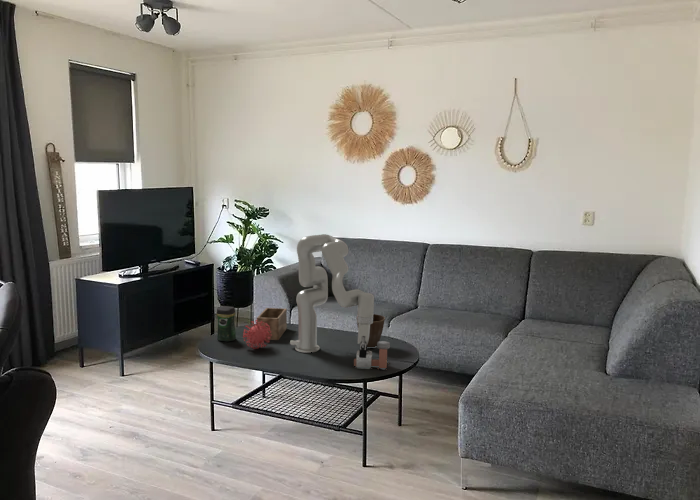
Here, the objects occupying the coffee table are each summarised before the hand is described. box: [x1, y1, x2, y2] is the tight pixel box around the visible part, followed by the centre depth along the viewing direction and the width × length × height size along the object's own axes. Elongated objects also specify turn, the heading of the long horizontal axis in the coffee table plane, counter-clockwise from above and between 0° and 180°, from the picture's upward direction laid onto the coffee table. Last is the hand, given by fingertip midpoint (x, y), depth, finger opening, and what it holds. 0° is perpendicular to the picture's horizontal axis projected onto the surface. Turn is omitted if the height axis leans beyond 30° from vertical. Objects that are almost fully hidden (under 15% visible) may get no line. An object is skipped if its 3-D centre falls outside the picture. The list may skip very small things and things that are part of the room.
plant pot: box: [356, 313, 386, 347], centre depth 299 cm, size 15×15×16 cm
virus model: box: [242, 319, 272, 350], centre depth 294 cm, size 15×15×15 cm
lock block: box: [355, 349, 373, 368], centre depth 270 cm, size 7×7×7 cm
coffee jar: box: [216, 305, 237, 342], centre depth 307 cm, size 10×8×19 cm
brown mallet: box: [353, 340, 391, 369], centre depth 269 cm, size 17×7×12 cm, turn 85°
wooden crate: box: [256, 307, 288, 341], centre depth 319 cm, size 12×22×12 cm, turn 175°
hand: (363, 353), depth 270 cm, fingers open, 9 cm apart
